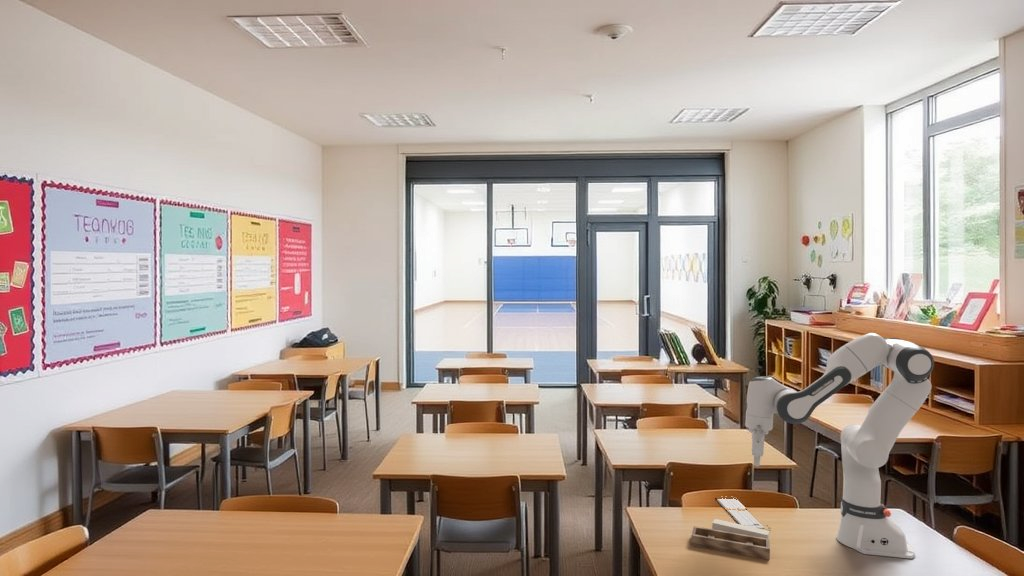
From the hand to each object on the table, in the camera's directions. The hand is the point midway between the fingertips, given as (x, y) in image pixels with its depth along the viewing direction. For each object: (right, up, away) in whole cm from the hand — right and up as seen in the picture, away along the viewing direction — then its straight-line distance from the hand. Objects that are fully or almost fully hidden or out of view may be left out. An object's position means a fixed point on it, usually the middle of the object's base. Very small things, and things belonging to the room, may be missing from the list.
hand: (756, 462), depth 206 cm
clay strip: (-6, -26, -2) cm, 27 cm away
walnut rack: (-13, -26, -10) cm, 30 cm away
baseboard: (+2, -26, +20) cm, 33 cm away
